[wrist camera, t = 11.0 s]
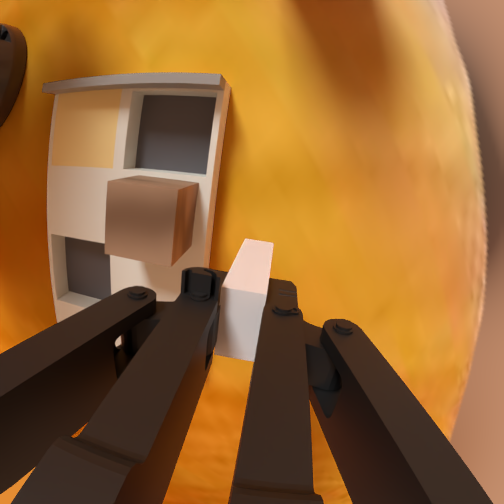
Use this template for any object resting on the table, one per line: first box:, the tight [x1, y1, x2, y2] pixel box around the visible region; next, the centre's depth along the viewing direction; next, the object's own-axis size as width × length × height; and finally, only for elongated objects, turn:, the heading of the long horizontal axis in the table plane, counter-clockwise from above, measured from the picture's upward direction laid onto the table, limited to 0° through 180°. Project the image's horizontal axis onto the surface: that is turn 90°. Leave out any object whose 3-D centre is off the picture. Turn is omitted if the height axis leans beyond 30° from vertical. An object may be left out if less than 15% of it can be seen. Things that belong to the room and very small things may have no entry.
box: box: [42, 73, 231, 347], centre depth 25 cm, size 26×16×4 cm, turn 172°
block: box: [105, 175, 199, 267], centre depth 22 cm, size 5×5×5 cm
